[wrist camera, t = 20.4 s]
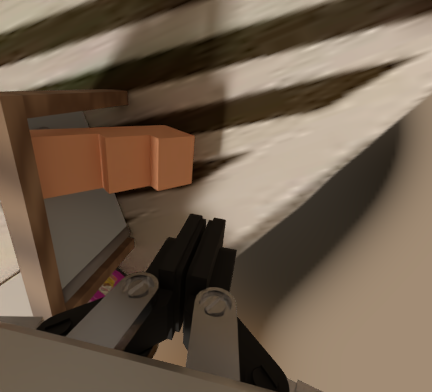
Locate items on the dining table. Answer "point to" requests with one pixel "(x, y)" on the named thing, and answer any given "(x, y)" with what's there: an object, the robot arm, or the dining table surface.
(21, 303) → the baseboard
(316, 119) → the dining table surface
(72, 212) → the door
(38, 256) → the brown door frame
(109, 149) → the orange stepped block
